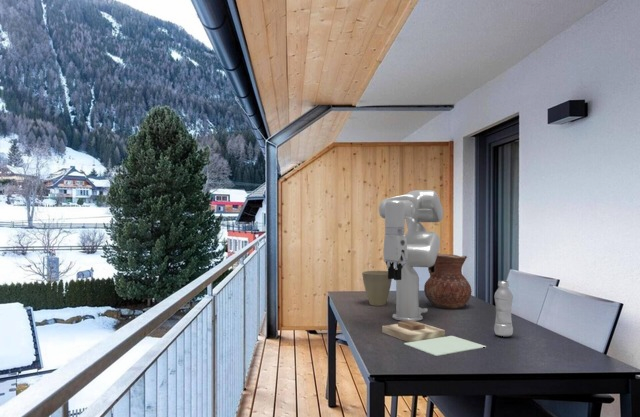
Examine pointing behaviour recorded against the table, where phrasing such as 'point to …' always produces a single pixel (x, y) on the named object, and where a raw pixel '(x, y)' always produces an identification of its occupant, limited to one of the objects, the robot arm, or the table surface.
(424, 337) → the board
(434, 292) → the jug
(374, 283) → the plant pot
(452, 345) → the sage mat
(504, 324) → the plastic bottle
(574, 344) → the table surface
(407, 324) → the walnut tile
